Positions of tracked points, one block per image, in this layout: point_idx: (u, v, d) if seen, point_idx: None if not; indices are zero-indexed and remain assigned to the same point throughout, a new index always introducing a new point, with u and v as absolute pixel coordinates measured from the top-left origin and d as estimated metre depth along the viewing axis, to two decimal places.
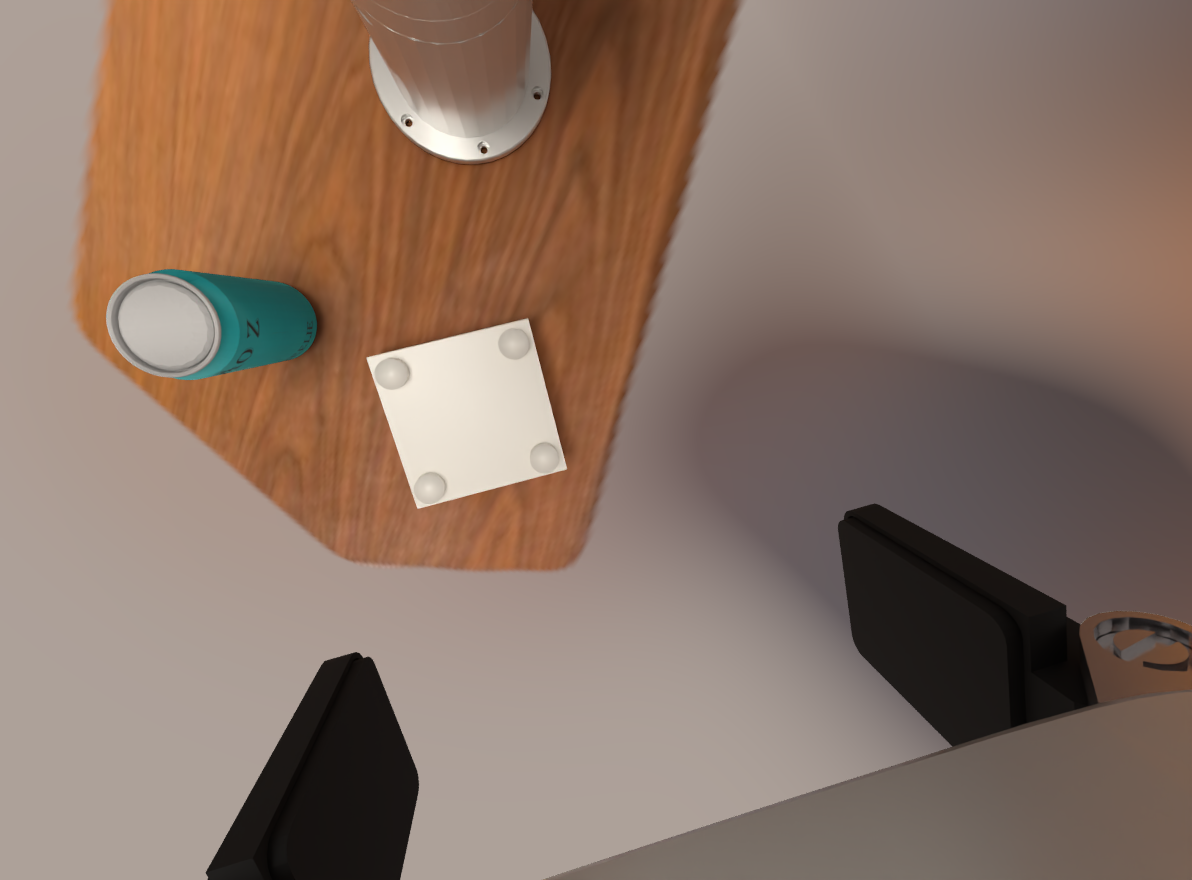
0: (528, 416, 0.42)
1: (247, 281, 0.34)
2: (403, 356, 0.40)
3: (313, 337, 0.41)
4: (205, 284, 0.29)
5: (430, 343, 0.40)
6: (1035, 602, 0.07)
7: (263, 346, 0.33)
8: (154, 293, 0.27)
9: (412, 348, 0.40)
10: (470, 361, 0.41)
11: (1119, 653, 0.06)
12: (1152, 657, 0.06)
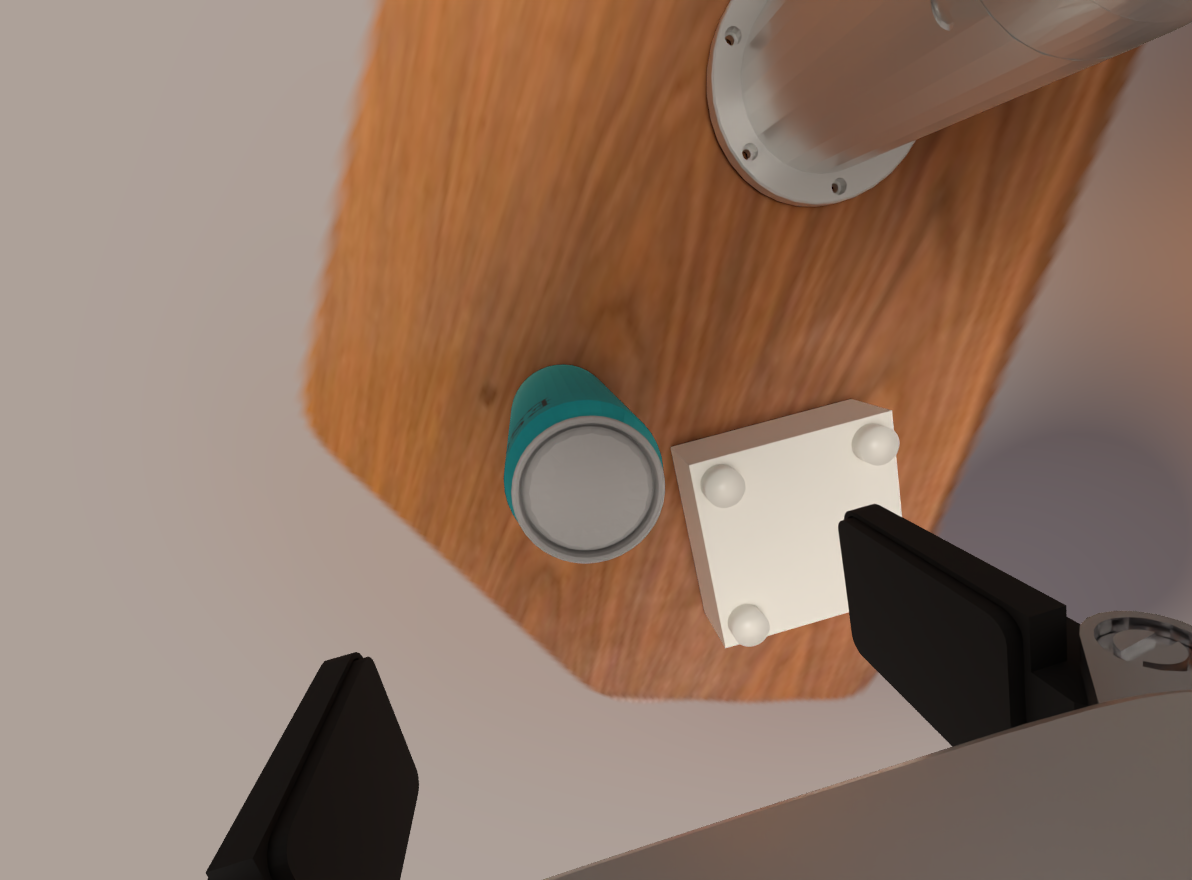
0: None
1: (603, 387, 0.24)
2: (734, 462, 0.31)
3: None
4: (635, 422, 0.19)
5: (768, 444, 0.31)
6: (1035, 602, 0.07)
7: None
8: (585, 445, 0.18)
9: (746, 451, 0.30)
10: (814, 466, 0.31)
11: (1119, 653, 0.06)
12: (1152, 657, 0.06)
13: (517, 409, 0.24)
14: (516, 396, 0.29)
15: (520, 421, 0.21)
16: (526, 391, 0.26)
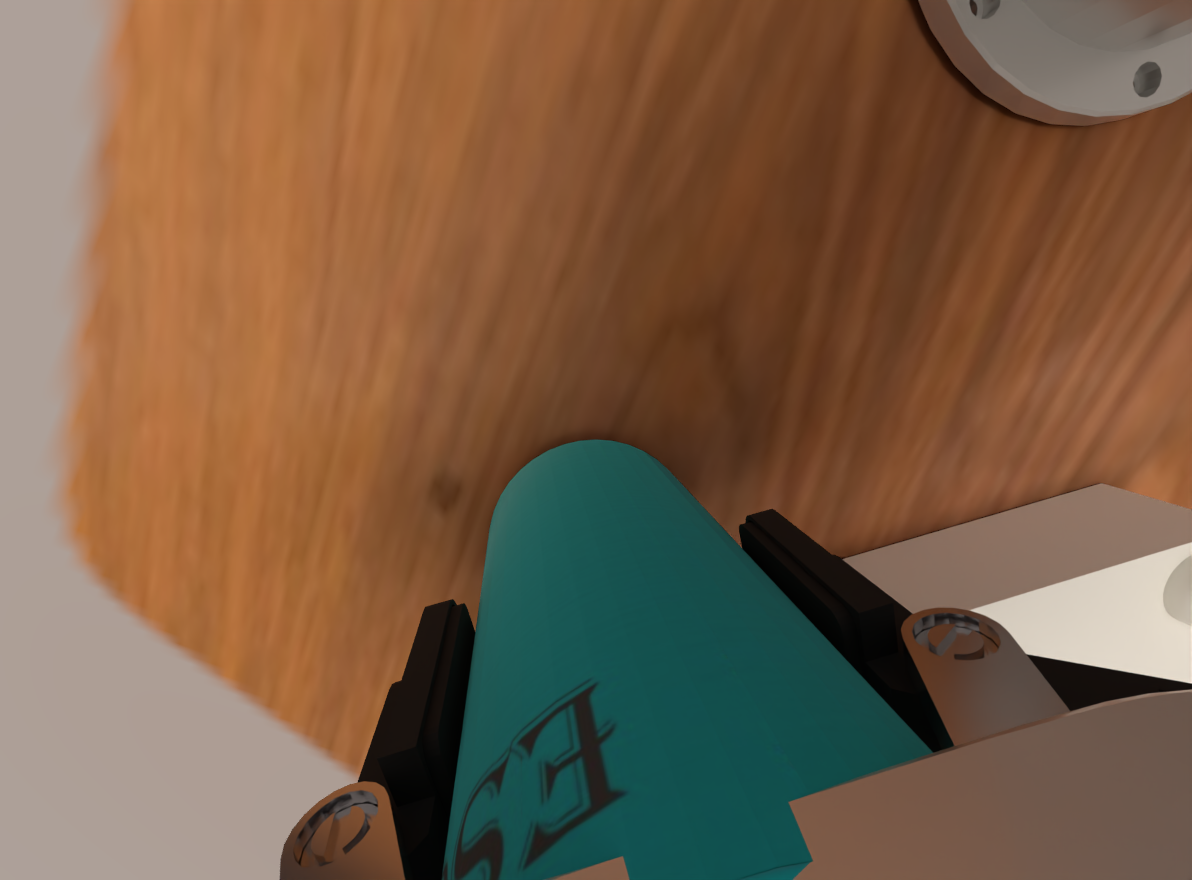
0: None
1: (733, 553, 0.09)
2: None
3: None
4: None
5: (1009, 599, 0.15)
6: (869, 599, 0.08)
7: None
8: None
9: None
10: (1090, 635, 0.16)
11: (935, 649, 0.07)
12: (959, 648, 0.07)
13: (493, 612, 0.09)
14: (498, 517, 0.13)
15: (491, 797, 0.05)
16: (519, 535, 0.10)
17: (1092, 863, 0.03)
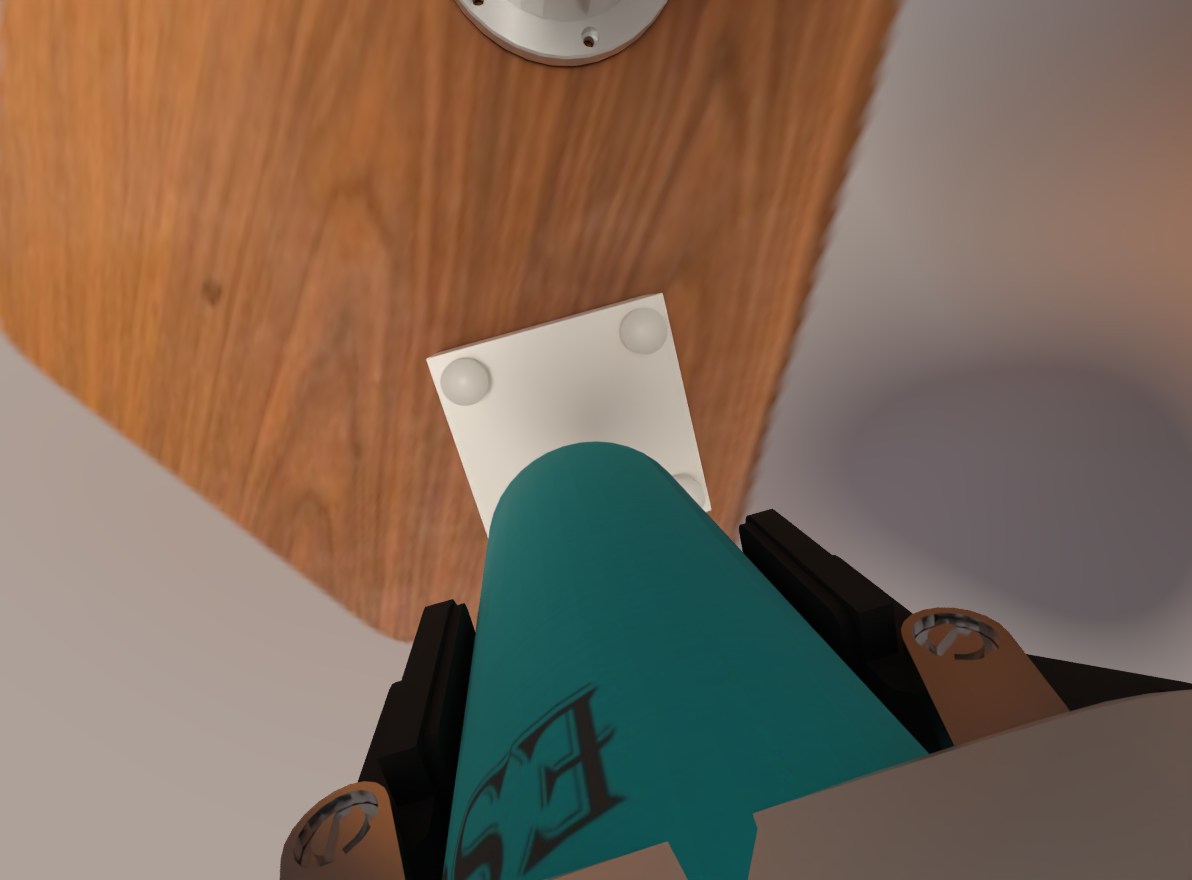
0: (660, 437, 0.29)
1: (733, 556, 0.09)
2: (480, 354, 0.27)
3: None
4: None
5: (519, 334, 0.27)
6: (869, 599, 0.08)
7: None
8: None
9: (493, 342, 0.27)
10: (578, 359, 0.27)
11: (935, 649, 0.07)
12: (959, 648, 0.07)
13: (493, 614, 0.09)
14: (497, 519, 0.13)
15: (491, 801, 0.05)
16: (519, 537, 0.10)
17: (1093, 863, 0.03)
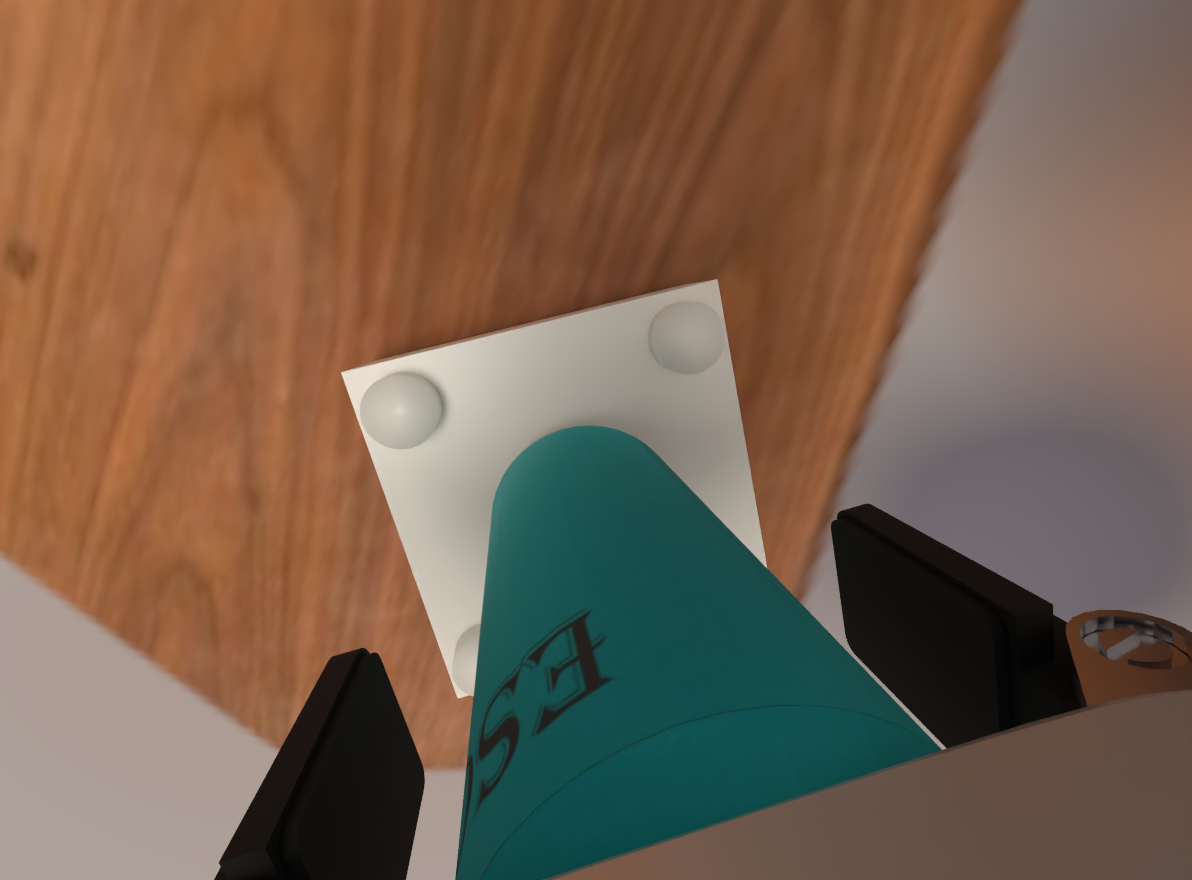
0: (703, 499, 0.19)
1: (708, 518, 0.10)
2: (429, 368, 0.17)
3: None
4: None
5: (492, 337, 0.17)
6: (1022, 601, 0.07)
7: None
8: None
9: (450, 349, 0.17)
10: (583, 379, 0.18)
11: (1105, 652, 0.06)
12: (1137, 655, 0.06)
13: (501, 570, 0.10)
14: (500, 496, 0.14)
15: (507, 697, 0.07)
16: (521, 507, 0.12)
17: (1093, 863, 0.03)
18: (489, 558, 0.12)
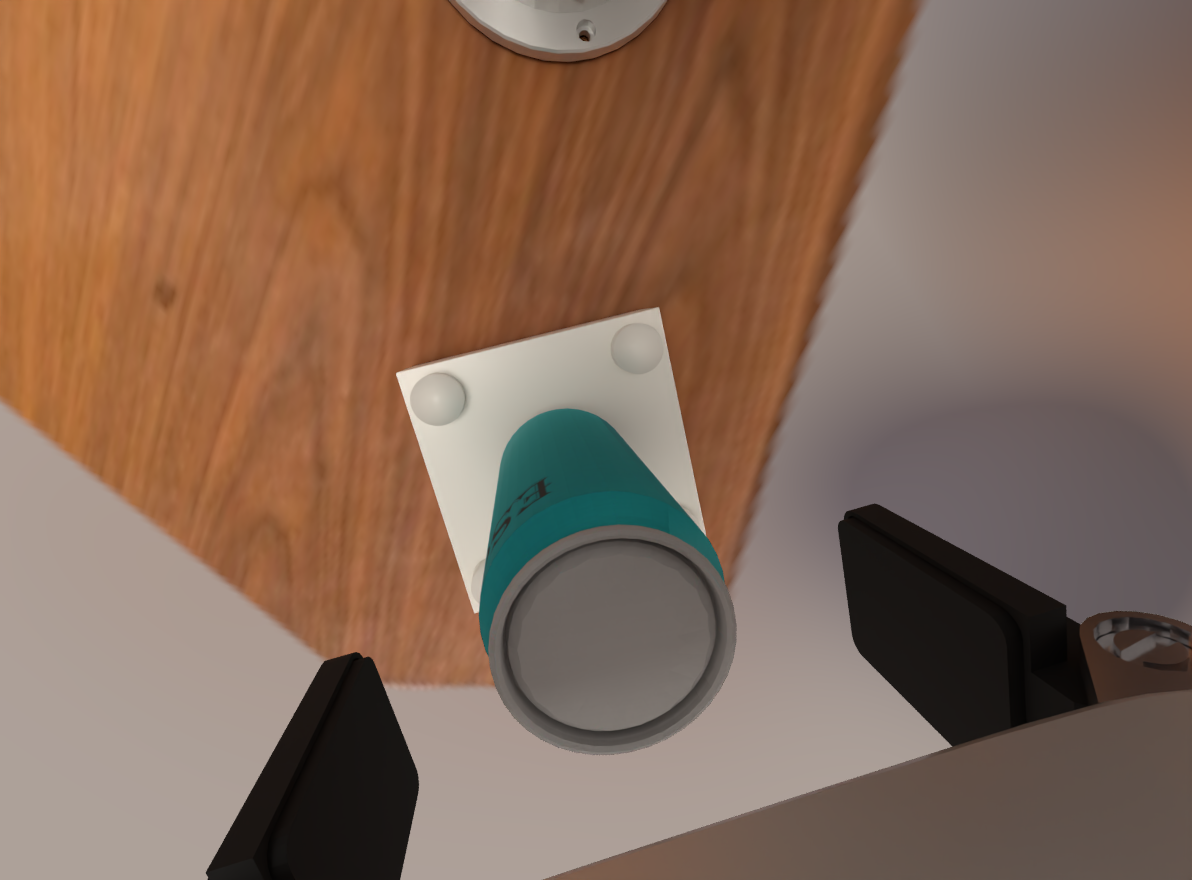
0: (653, 465, 0.26)
1: (625, 450, 0.17)
2: (457, 370, 0.24)
3: None
4: (684, 525, 0.12)
5: (500, 348, 0.24)
6: (1035, 602, 0.07)
7: None
8: (609, 574, 0.11)
9: (471, 357, 0.24)
10: (564, 378, 0.25)
11: (1119, 653, 0.06)
12: (1152, 657, 0.06)
13: (504, 481, 0.17)
14: (505, 453, 0.22)
15: (506, 515, 0.14)
16: (517, 452, 0.19)
17: (1093, 863, 0.03)
18: (498, 484, 0.19)
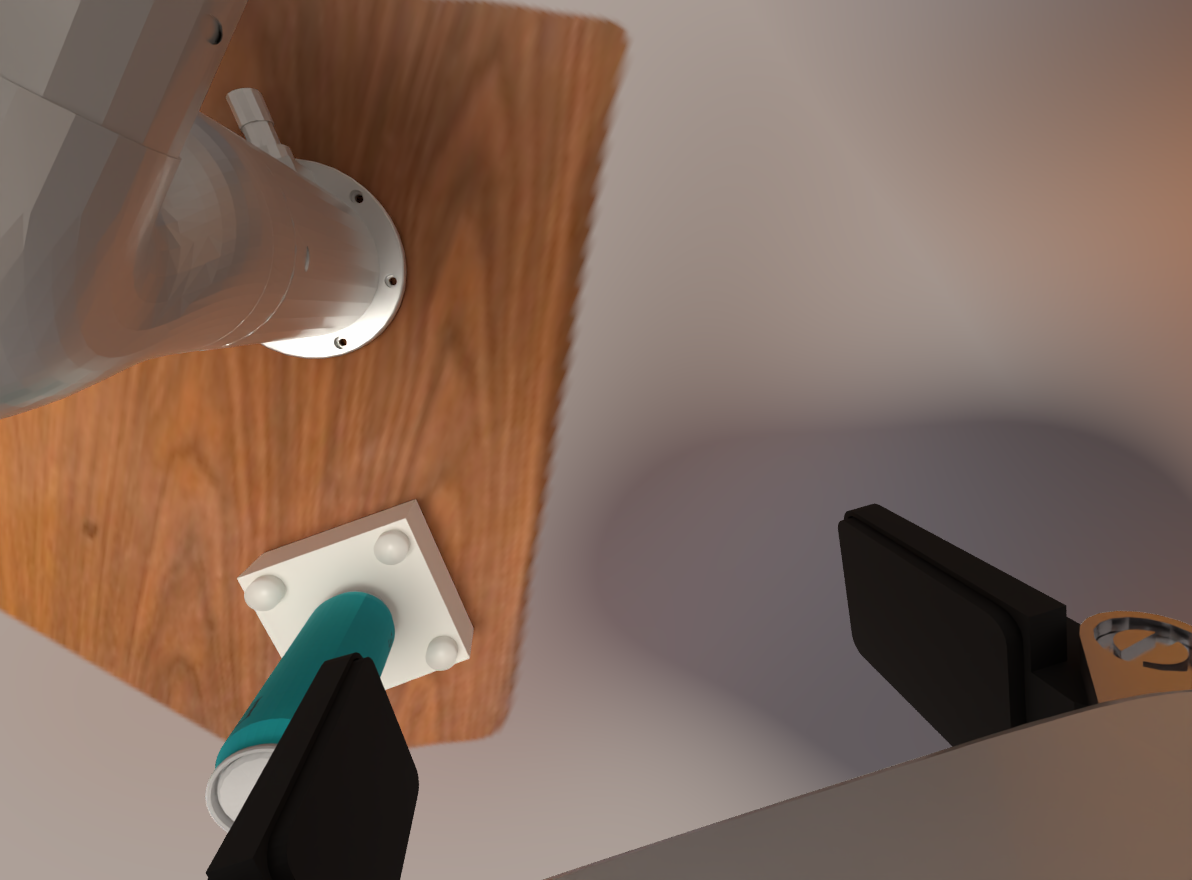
0: (420, 612, 0.40)
1: (333, 655, 0.31)
2: (276, 571, 0.38)
3: (392, 643, 0.38)
4: None
5: (303, 555, 0.38)
6: (1035, 602, 0.07)
7: None
8: (255, 767, 0.24)
9: (285, 562, 0.38)
10: (349, 567, 0.38)
11: (1120, 653, 0.06)
12: (1153, 657, 0.06)
13: None
14: None
15: None
16: (288, 648, 0.33)
17: (1093, 863, 0.03)
18: None
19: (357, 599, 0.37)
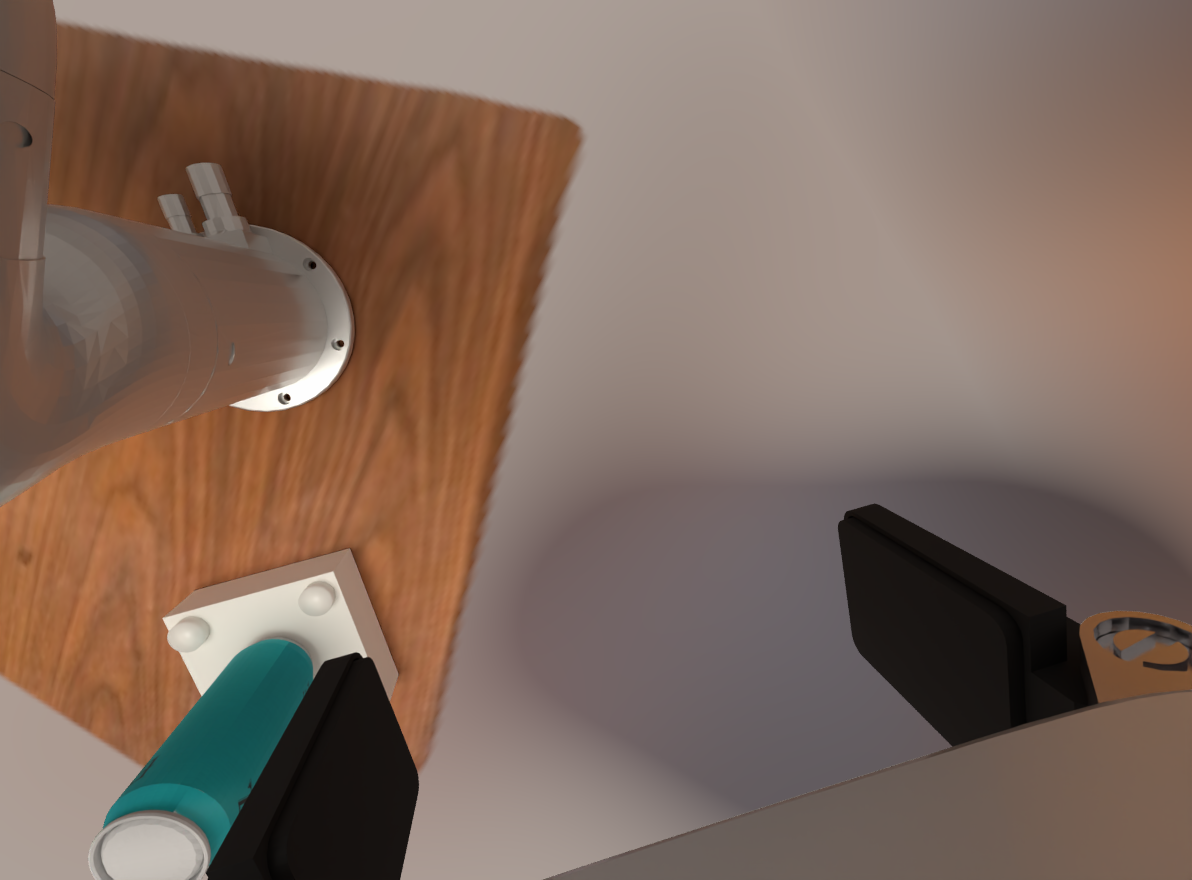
0: None
1: (239, 713, 0.32)
2: (202, 614, 0.39)
3: None
4: (193, 798, 0.27)
5: (230, 600, 0.39)
6: (1035, 602, 0.07)
7: None
8: (138, 832, 0.26)
9: (211, 606, 0.39)
10: (275, 614, 0.40)
11: (1119, 653, 0.06)
12: (1152, 657, 0.06)
13: (176, 728, 0.32)
14: None
15: None
16: (199, 699, 0.34)
17: (1093, 863, 0.03)
18: None
19: (277, 649, 0.38)
